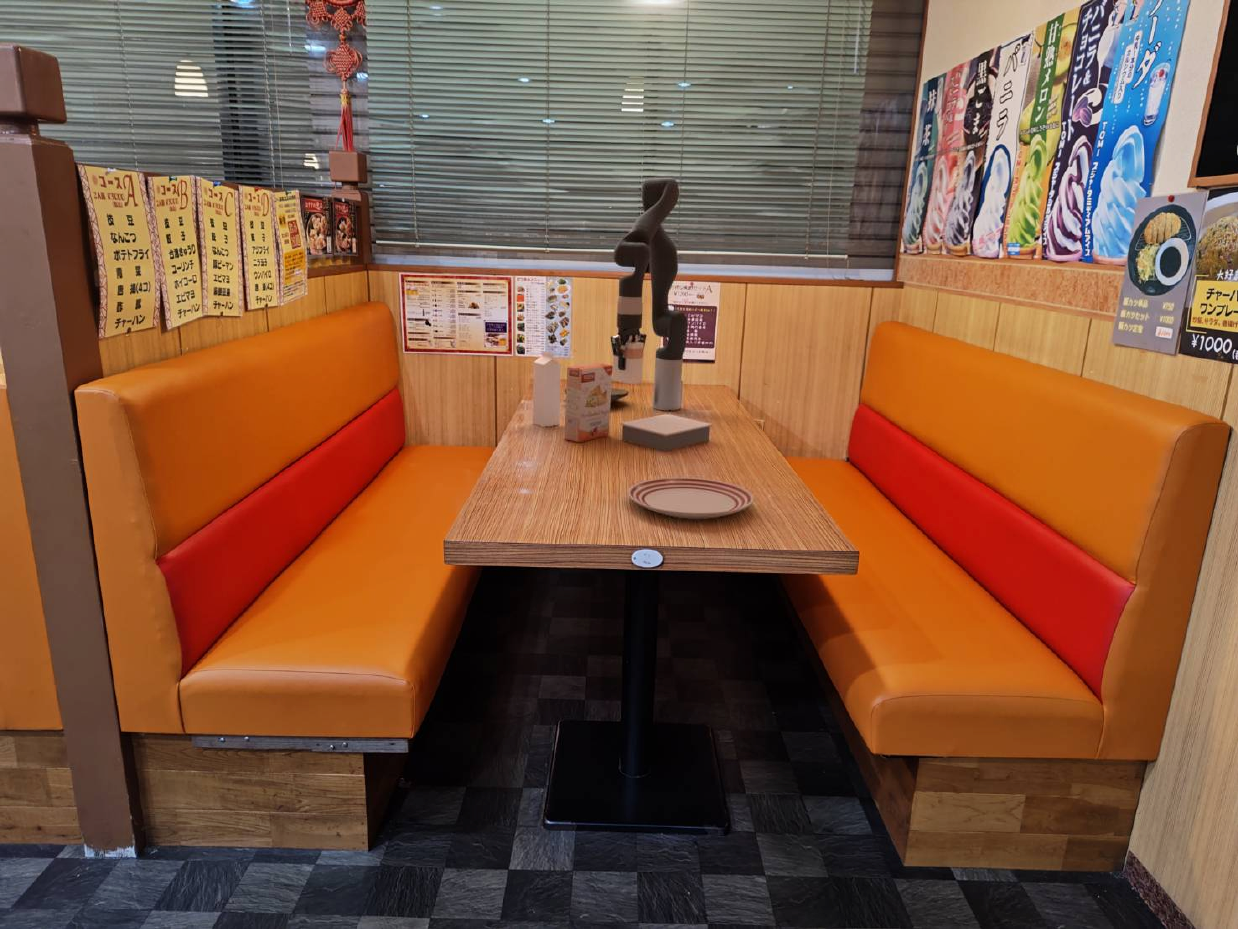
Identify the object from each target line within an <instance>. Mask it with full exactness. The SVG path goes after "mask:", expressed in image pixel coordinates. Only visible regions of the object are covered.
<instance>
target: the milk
mask: <svg viewBox="0 0 1238 929" xmlns="http://www.w3.org/2000/svg"><path fill="white" fill-rule="evenodd" d="M553 357H554V353H553V352H548V351H543V350H542V351H541V356H540V357H539V358H537V359H536V360H534V361H533V377H532V380H533V386H532V424H534V425H537V426H539V425H540V426H539V427H541V428H545V427H546V426H547V427H553V425H556V426H560V416H561V415H560V414H561V413H560V411H561V410H560V409H561V408H560V407H561V374H562V372H561V371H562V369H561V366H562V364H561V362H559V361H557V360H556V359H554V358H553Z"/></svg>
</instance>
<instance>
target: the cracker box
mask: <svg viewBox="0 0 1238 929" xmlns="http://www.w3.org/2000/svg"><path fill="white" fill-rule="evenodd" d="M566 371H567V372H566V388H565V389H566V394H565V414H564V415H565V418H564V437H563V438H564V440H567V441H570V442H575V443H582V442H586V441H591V440H594V439H598V437H599V438H603V437H602V436H604V437H607V435H608V436H609V434H610V433H609V432H610V419H611V418H610V417H611V416H610V415H611V403H612V402H611V388H612V386H613V384H612V382H613V364H612V365H611V364H607V363H599V362H596V363H588V364H581V365H574V366H567V368H566Z"/></svg>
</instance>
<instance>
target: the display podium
mask: <svg viewBox="0 0 1238 929" xmlns="http://www.w3.org/2000/svg"><path fill="white" fill-rule="evenodd" d="M619 426H622V428H621V430H622V431H621V440H622V441H624V440H625V441H624V442H627V441H631V442H633V443H632V444H635V443H636V444H635V445H640V446H643V447H646V446H647V448H651V449H654V450H658V451H662V452H668V451H671V450H675V449H676V450H678V449H680V448H681V449H682V448H684V446H685V447H689V446H693V445H697V444H702V443H706V442H709V441H710V430H711V429H710V427H712V426H713V423H709V422H705V421H699V420H696V419H691V418H687V417H682V416H678V415H674V414H670V413H665V414H660V415H655V416H650V417H644V418H639V419H633V420H629V421H623V422H620V425H619ZM705 441H706V442H705ZM631 442H630V443H631Z"/></svg>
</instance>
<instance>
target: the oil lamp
mask: <svg viewBox="0 0 1238 929" xmlns="http://www.w3.org/2000/svg"><path fill="white" fill-rule="evenodd" d="M629 393H630V392H629V390H626V389H622V388H613V387H611V403H613V402H617V401H618V400H621V399H622V398H624V397H628V395H629ZM564 394H565V395H566V388H565V389H564Z"/></svg>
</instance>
